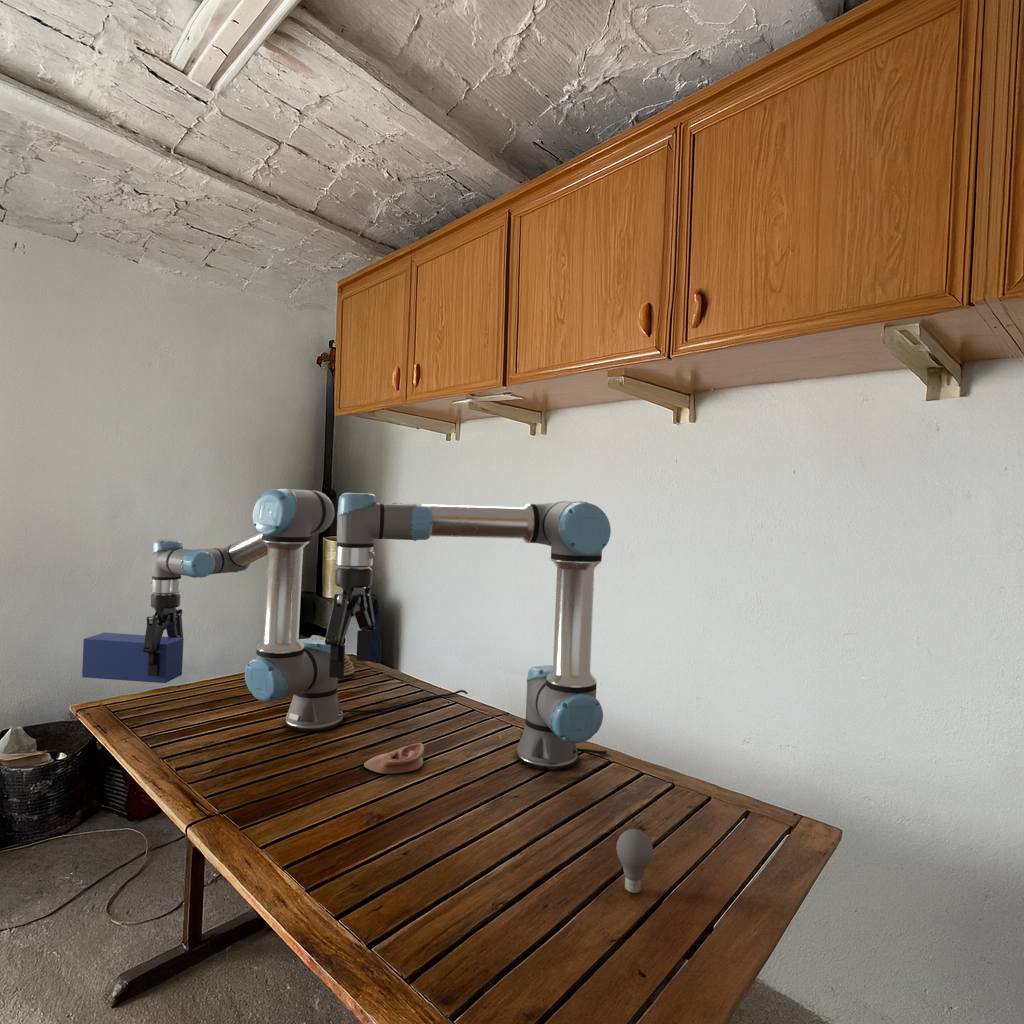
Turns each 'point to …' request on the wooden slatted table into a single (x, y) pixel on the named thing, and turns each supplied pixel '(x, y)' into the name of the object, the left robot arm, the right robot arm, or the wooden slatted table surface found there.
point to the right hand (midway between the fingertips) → (350, 668)
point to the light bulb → (634, 857)
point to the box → (130, 658)
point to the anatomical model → (397, 760)
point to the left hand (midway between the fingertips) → (162, 671)
